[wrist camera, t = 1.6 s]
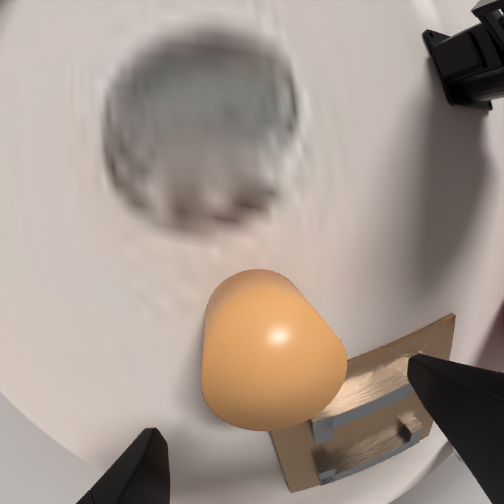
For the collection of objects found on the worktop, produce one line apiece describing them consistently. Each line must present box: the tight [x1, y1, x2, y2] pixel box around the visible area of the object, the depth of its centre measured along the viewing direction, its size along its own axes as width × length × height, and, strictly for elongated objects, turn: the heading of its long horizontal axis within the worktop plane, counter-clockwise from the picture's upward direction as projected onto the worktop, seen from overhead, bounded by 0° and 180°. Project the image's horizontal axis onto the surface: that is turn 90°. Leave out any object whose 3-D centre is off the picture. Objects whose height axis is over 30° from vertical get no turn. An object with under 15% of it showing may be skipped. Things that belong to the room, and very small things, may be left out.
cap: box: [201, 269, 347, 431], centre depth 12 cm, size 6×6×6 cm
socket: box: [270, 313, 456, 493], centre depth 18 cm, size 16×16×2 cm
